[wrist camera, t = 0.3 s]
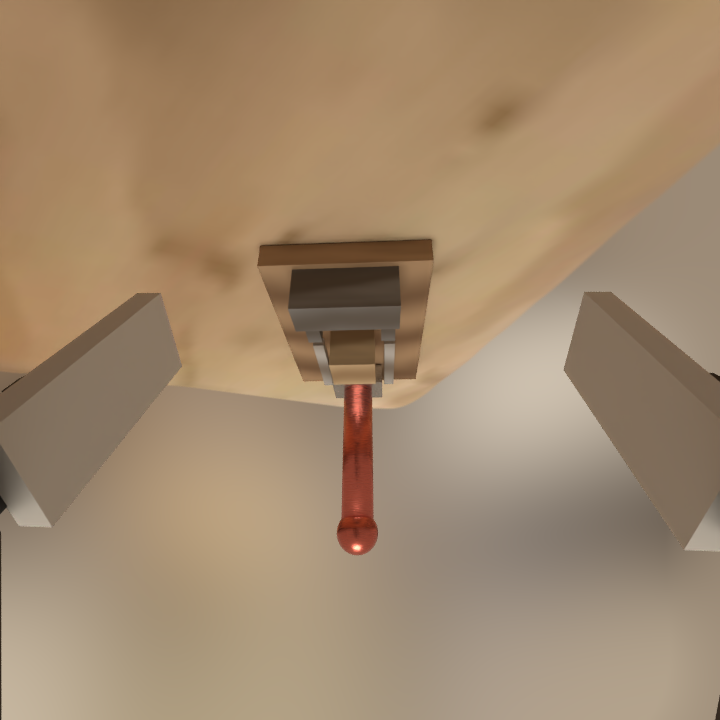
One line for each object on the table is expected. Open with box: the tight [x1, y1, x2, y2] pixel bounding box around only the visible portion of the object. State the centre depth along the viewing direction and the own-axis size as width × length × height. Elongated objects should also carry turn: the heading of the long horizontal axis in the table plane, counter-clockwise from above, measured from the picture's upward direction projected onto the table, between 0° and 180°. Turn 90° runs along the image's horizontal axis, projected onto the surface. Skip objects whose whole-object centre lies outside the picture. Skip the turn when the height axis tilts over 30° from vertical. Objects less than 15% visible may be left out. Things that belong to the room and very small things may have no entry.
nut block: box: [329, 330, 376, 385], centre depth 39 cm, size 4×4×4 cm
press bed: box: [257, 240, 433, 385], centre depth 39 cm, size 20×13×6 cm, turn 3°
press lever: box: [332, 365, 382, 555], centre depth 41 cm, size 7×5×18 cm
